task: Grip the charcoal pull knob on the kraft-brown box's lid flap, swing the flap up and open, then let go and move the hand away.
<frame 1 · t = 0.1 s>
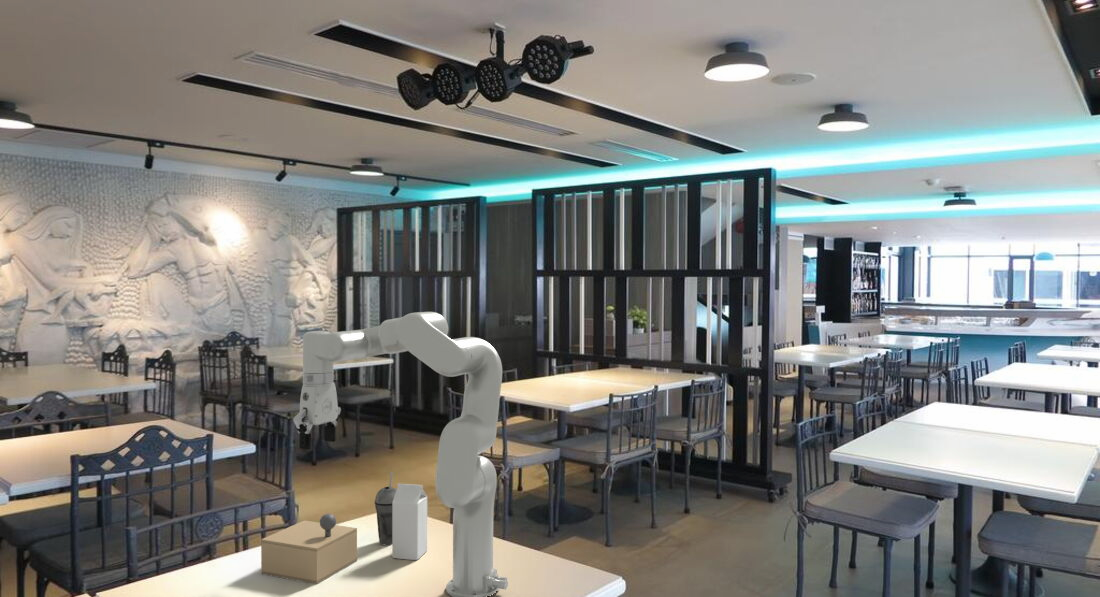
hand: (317, 444, 190), 31 cm above the table, tool pointing down, fingers open, 9 cm apart
carton: (310, 567, 188), on the table
milk carton: (410, 555, 197), on the table
flap: (310, 523, 187), point 11 cm above the table, hinge at 0.0°
beverage cup: (387, 543, 206), on the table
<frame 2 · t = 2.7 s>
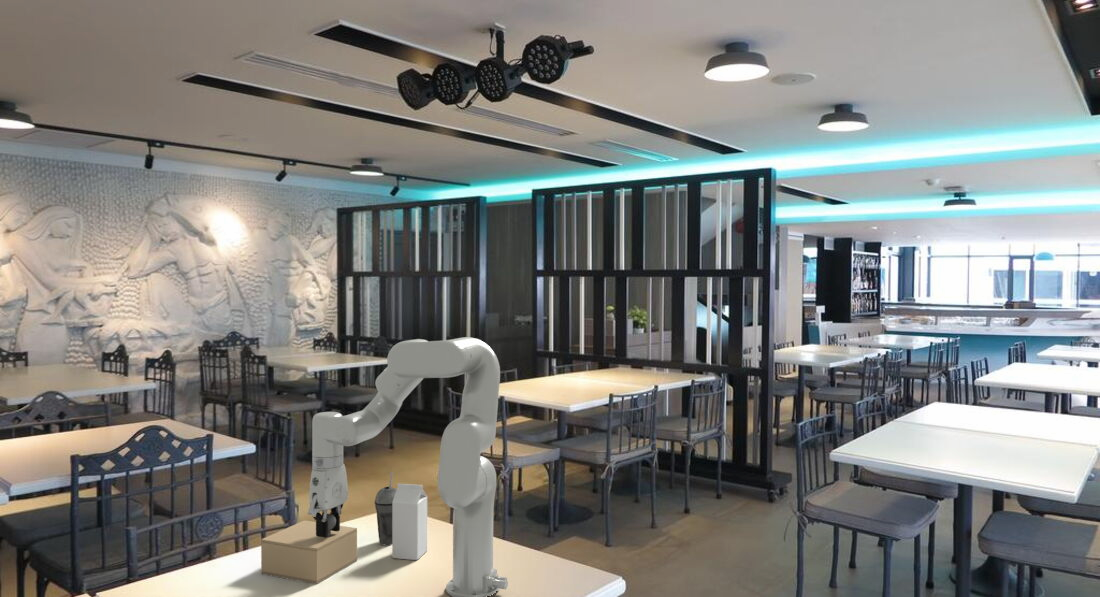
hand: (328, 532, 186), 10 cm above the table, tool pointing down, fingers closed on flap, 4 cm apart
flap: (310, 523, 187), point 11 cm above the table, hinge at 0.0°, touching gripper
everything else where it was.
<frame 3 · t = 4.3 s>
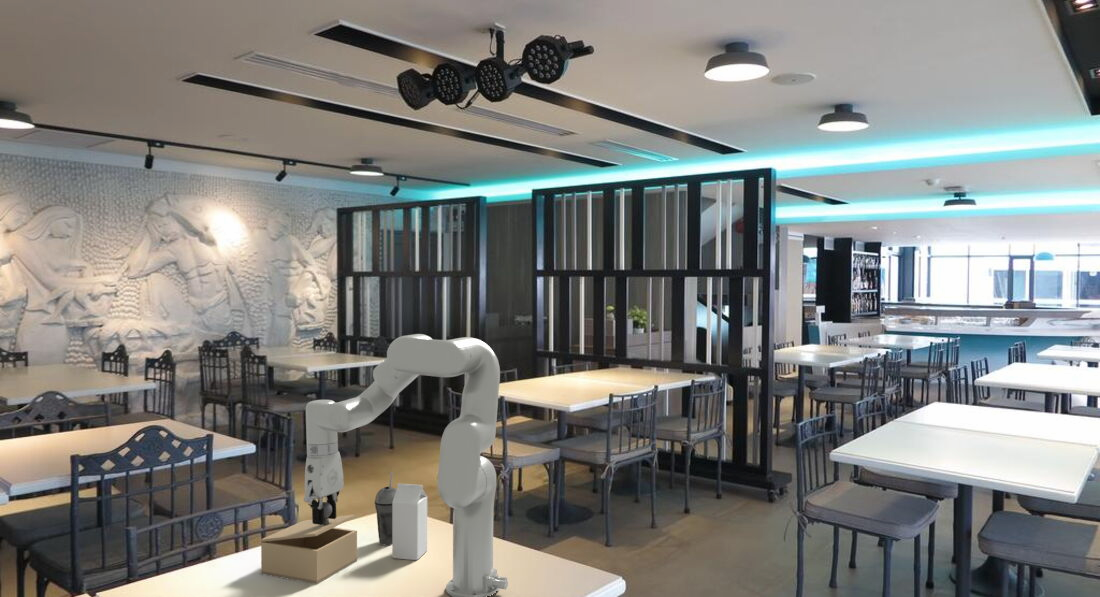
hand: (324, 520, 186), 13 cm above the table, tool pointing down, fingers closed on flap, 4 cm apart
flap: (307, 516, 188), point 13 cm above the table, hinge at 12.0°, touching gripper
everything else where it was.
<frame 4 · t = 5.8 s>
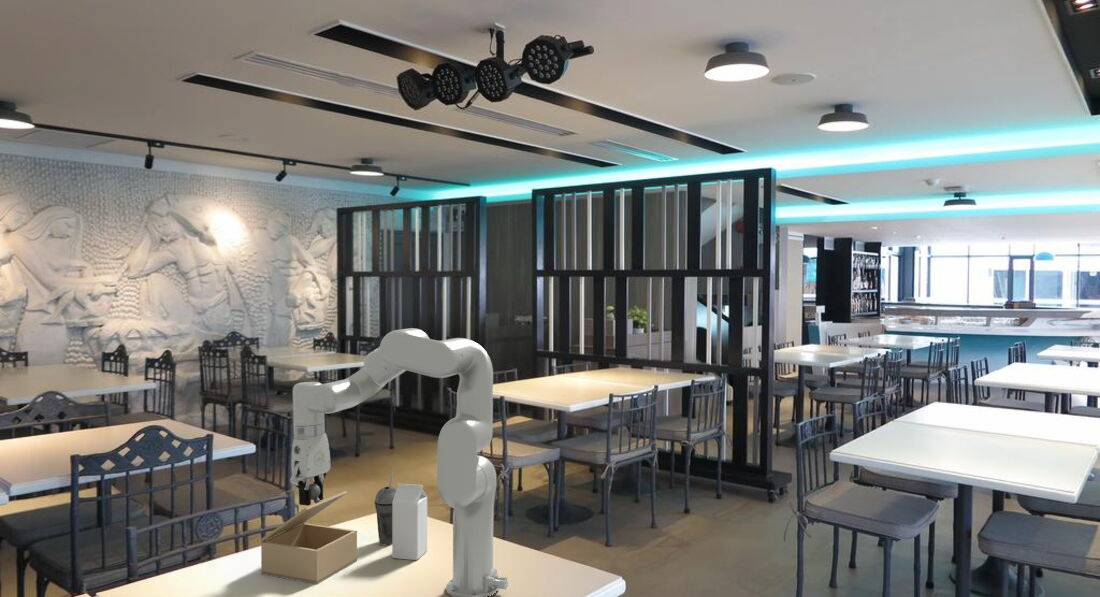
hand: (311, 501, 187), 17 cm above the table, tool pointing down, fingers closed on flap, 4 cm apart
flap: (299, 505, 189), point 16 cm above the table, hinge at 34.5°, touching gripper
everything else where it was.
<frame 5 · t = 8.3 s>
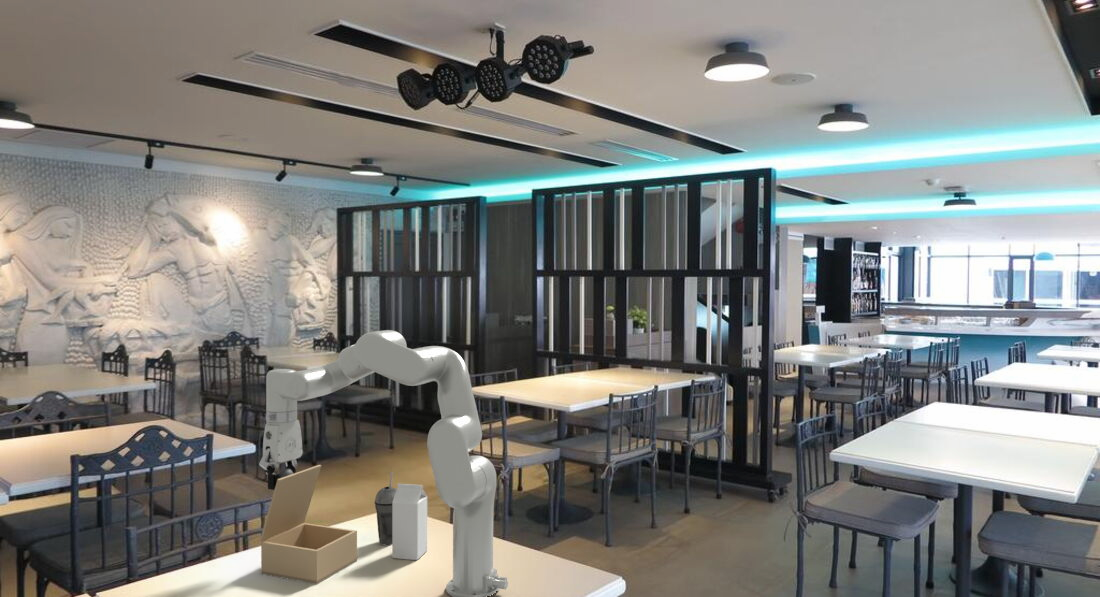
hand: (281, 485, 191), 20 cm above the table, tool pointing down, fingers open, 5 cm apart
flap: (283, 497, 190), point 17 cm above the table, hinge at 70.4°
everything else where it was.
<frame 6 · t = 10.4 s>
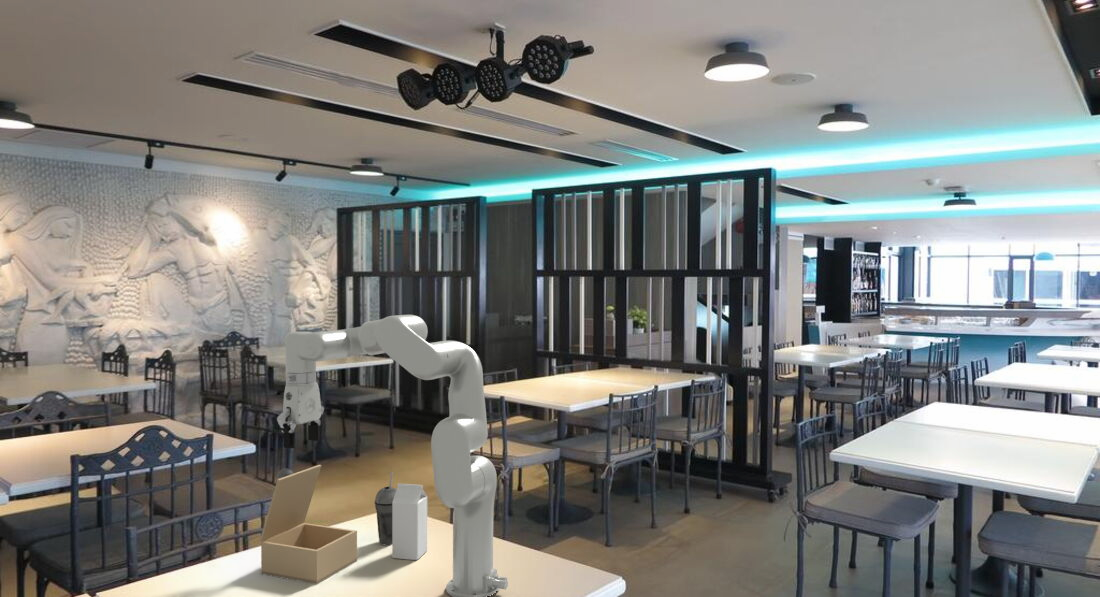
hand: (301, 443, 192), 31 cm above the table, tool pointing down, fingers open, 9 cm apart
nothing on the table moved.
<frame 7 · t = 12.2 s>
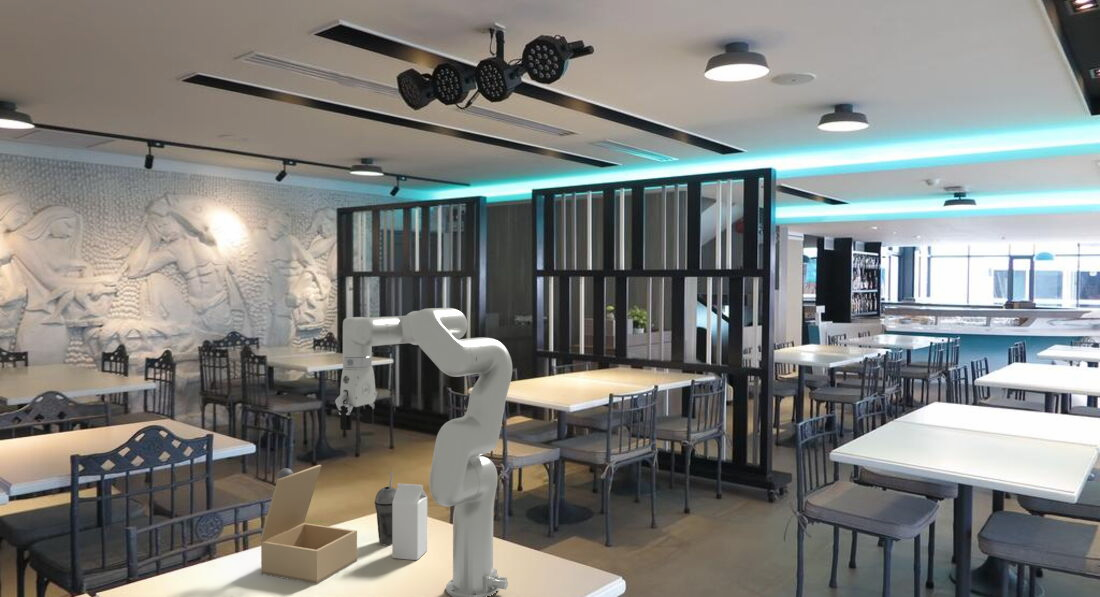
hand: (357, 426, 197), 34 cm above the table, tool pointing down, fingers open, 9 cm apart
nothing on the table moved.
at the end: flap at +70° (first picture: +0°); the gripper is holding nothing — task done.
